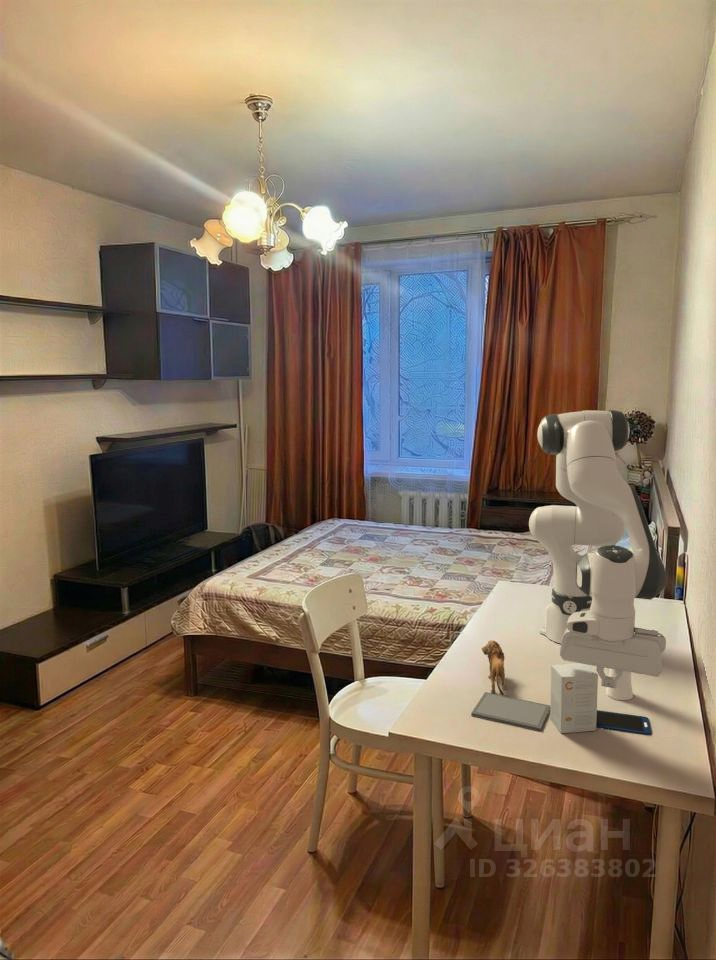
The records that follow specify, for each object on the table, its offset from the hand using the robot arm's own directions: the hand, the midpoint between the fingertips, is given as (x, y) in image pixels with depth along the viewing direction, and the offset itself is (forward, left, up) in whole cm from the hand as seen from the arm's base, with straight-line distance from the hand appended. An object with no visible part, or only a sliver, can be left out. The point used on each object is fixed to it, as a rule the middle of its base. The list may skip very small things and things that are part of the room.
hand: (609, 686), depth 139 cm
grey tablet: (0, -21, -11) cm, 23 cm away
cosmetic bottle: (-19, +1, -11) cm, 22 cm away
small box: (0, -7, -11) cm, 13 cm away
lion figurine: (-13, -28, -11) cm, 33 cm away
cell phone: (-5, +1, -11) cm, 12 cm away
